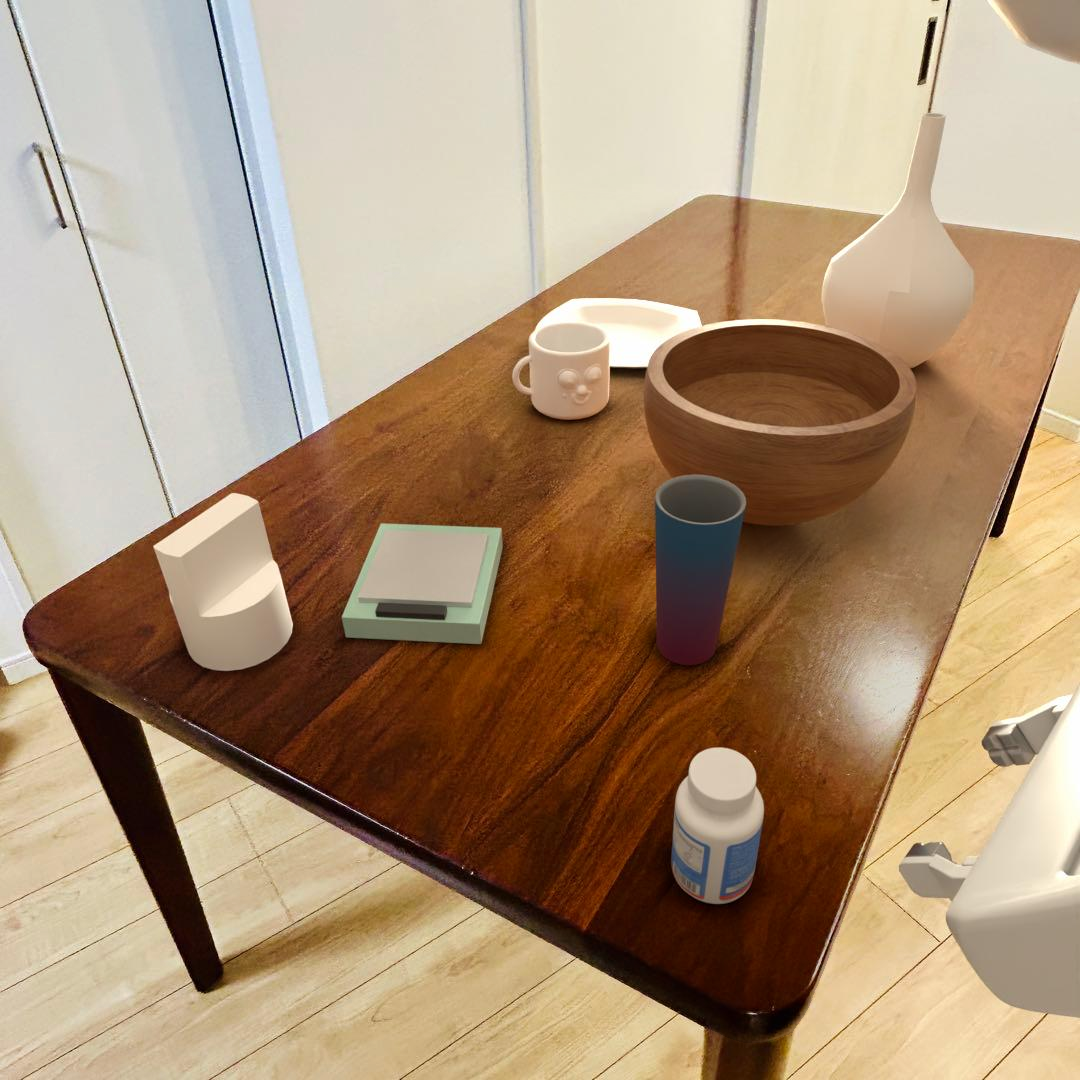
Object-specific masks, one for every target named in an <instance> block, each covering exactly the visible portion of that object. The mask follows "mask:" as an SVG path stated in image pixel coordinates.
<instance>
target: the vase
mask: <svg viewBox="0 0 1080 1080" xmlns="http://www.w3.org/2000/svg"><path fill="white" fill-rule="evenodd" d="M920 117H921V118H920V120H919V121H920V122H919V124H918V130H917V134H916V137H915V138H916V139H915V142H914V145H913V152H912V155H911V159H910V162H909V167H908V172H907V176H906V182H905V187H904V190H903V192H902V194H901V196H900V198H899V199H898V201H897V202H896V203H895V205H894V206H893V207H892V209H890V211H888V212H886V214H885V215H884V216H883V217H882V218H880V219H879V220H877V222H876V223H875V224H874V225H872V226H871V227H870V228H868V230H867V231H865V232H864V233H863V234H862V235H860V236H859V237H858V238H856V239H855V240H854V241H852V242H851V243H849V244H848V245H846V247H844V248H843V249H842V250H840V251H839V252H837V254H835V255H834V256H833V257H832V258H831V259H830V262H829V265H828V267H827V269H826V272H825V274H824V276H823V277H824V278H823V281H822V288H821V295H820V299H821V305H822V310H823V317H824V321H825V326H828V327H832V328H836V329H840V330H844V331H847V332H850V333H853V334H856V335H859V336H862V337H864V338H867V339H869V340H871V341H874V342H876V343H878V344H880V345H882V346H883V347H885V348H887V349H888V350H890V351H892V352H893V353H894V354H896V355H897V356H898V357H900V358H901V359H902V360H903V361H904V362H905V363H906V364H907V365H908V367H909V368H910V369H913V368H916V367H917V366H919V365H921V364H923V363H924V362H926V361H928V360H929V359H931V358H933V357H934V356H936V354H937V353H939V352H940V351H941V350H943V348H944V347H946V345H948V344H949V342H950V341H951V339H952V338H953V337H954V335H955V334H956V332H957V331H958V329H959V328H960V326H961V325H962V323H963V322H964V320H965V319H966V317H967V316H968V315H969V313H970V310H971V307H972V304H973V301H974V297H975V271H974V270H973V267H971V265H970V264H969V263H968V261H967V260H966V259H965V257H964V256H963V254H962V253H961V252H960V250H959V249H958V248H957V246H956V245H955V243H954V241H953V240H952V238H951V237H950V235H949V234H948V232H947V231H946V228H945V227H944V225H943V224H942V222H941V221H940V219H939V217H938V216H937V214H936V212H935V209H934V206H933V202H932V188H933V187H932V186H933V182H934V178H935V173H936V169H937V164H938V158H939V155H940V149H941V144H942V138H943V133H944V129H945V123H946V119H947V115H946V114H944V113H939V112H925V113H922V114H921V116H920Z"/></svg>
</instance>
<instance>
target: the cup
mask: <svg viewBox="0 0 1080 1080" xmlns="http://www.w3.org/2000/svg"><path fill="white" fill-rule="evenodd" d="M745 507H746V498H745V496H744V494H743V492H742V491H741V490H740V489H739V488H738V487H736V486H735V485H734V484H732V483H730V482H728V481H726V480H723V479H721V478H717V477H713V476H707V475H685V476H679V477H676V478H670V479H668V480H666V481H664V482H663V483H662V484H660V485H659V487H658V488H657V489H656V491H655V493H654V519H655V520H654V521H655V524H654V526H655V601H656V602H655V606H656V607H655V610H656V611H655V613H656V615H655V616H656V647H657V649H658V652H659V653H660V654H661V655H662V656H663V657H664V658H665V659H667V660H668V661H670V662H671V663H675V664H677V665H683V666H696V665H700V664H703V663H705V662H707V661H709V660H710V659H711V658H713V657H714V655H715V653H716V650H717V646H718V642H719V641H718V640H719V636H720V631H721V627H722V623H723V622H722V621H723V617H724V613H725V608H726V602H727V597H728V594H729V589H730V584H731V578H732V574H733V569H734V564H735V560H736V555H737V550H738V544H739V541H740V537H741V536H740V535H741V531H742V526H743V523H744V522H743V517H744V512H745Z"/></svg>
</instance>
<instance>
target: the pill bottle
mask: <svg viewBox="0 0 1080 1080" xmlns="http://www.w3.org/2000/svg"><path fill="white" fill-rule="evenodd" d="M673 812H674V813H673V830H672V842H671V843H672V845H671V855H670V857H671V858H670V864H671V871H672V874H673V877H674V879H675V881H676V882H677V884H678V886H680V888H681V889H682V890H683V891H684V892H685V893H687V894H688V895H689V896H690V897H692V898H694V899H696V900H697V901H700V902H703V903H706V904H712V905H723V904H728V903H732V902H734V901H736V900H738V899H740V898H741V897H742V896H744V895H745V894H746V892H747V891H748V890H749V889H750V888H751V885H752V882H753V880H754V876H755V870H756V866H757V859H758V853H759V847H760V841H761V836H762V835H761V834H762V829H763V823H764V815H765V803H764V799H763V797H762V794H761V792H760V790H759V788H758V787H757V772H756V769H755V767H754V765H753V763H752V762H751V761H750V760H749V758H747V756H745V755H743V754H742V753H740V752H738V751H737V750H734V749H732V748H727V747H710V748H706V749H704V750H702V751H700V752H698V753H697V754H696V755H695V756H694V757H693V758H692V760H691V761H690V764H689V767H688V775H687V776H686V777H685V778H684V779H683V780H682V781H681V783H680V784H679V786H678V789H677V791H676V794H675V800H674V811H673Z"/></svg>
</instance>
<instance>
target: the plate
mask: <svg viewBox="0 0 1080 1080" xmlns="http://www.w3.org/2000/svg"><path fill="white" fill-rule="evenodd" d="M559 322H583V323H589V324H593V325H596V326H598V327H601V328H603V329H604V330H605V331H607V332H608V334H609V336H610V368H614V369H647V367H648V363H649V360H650V357H651V355H652V354H653V352H654V351H655V350H656V349H657V348H658V347H659V346H660V345H661V344H662V343H664V342H665V341H666V340H668V339H670V338H671V337H673V336H675V335H677V334H679V333H682V332H684V331H687V330H690V329H693V328H696V327H700V326H703V325H702V322H701V319H700V316H699V314H698V310H694V309H690V308H687V307H683V306H681V307H680V306H677V305H672V304H667V303H661V302H657V301H650V300H642V299H638V298H637V299H635V298H616V297H615V298H613V297H610V298H605V297H604V298H603V297H602V298H601V297H600V298H599V297H598V298H597V297H593V298H592V297H591V298H572V299H570V300H568V301H566V302H564V303H563V304H561V305H559V306H558V307H556V308H554V309H553V310H551V311H550V312H549V313H547V314H546V315H545V316H543V317H542V318H541V319H540V320H539V321H538V322H537V324H536V326H535V328H534V331H535V330H536V329H538V328H540V327H542V326H545V325H548V324H553V323H559Z"/></svg>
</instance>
